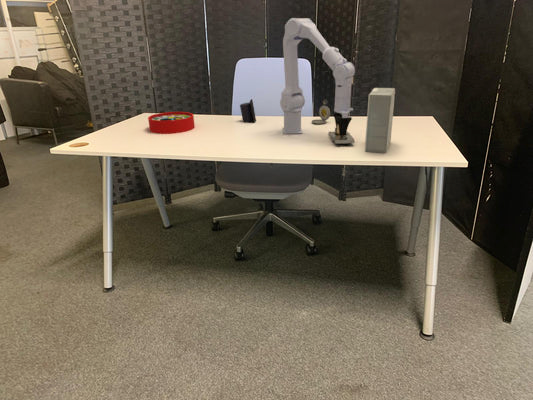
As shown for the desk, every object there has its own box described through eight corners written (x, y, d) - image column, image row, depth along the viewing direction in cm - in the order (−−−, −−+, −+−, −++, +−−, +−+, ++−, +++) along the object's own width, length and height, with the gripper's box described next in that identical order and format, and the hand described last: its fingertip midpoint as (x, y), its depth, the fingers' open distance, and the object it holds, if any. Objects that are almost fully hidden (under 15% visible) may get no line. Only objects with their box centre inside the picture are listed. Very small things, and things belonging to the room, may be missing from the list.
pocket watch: (310, 124, 179) (310, 102, 175) (314, 120, 187) (314, 99, 182) (327, 125, 177) (328, 102, 173) (331, 121, 184) (332, 99, 180)
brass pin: (335, 139, 155) (336, 124, 152) (343, 139, 155) (344, 123, 152) (336, 141, 152) (337, 125, 149) (345, 141, 152) (346, 125, 149)
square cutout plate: (328, 134, 161) (328, 127, 160) (345, 134, 161) (345, 126, 160) (335, 146, 145) (335, 138, 144) (354, 146, 145) (354, 138, 144)
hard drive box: (370, 140, 152) (374, 87, 144) (390, 142, 149) (396, 88, 141) (363, 151, 139) (368, 93, 131) (386, 153, 136) (392, 94, 128)
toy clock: (188, 110, 188) (197, 118, 171) (190, 122, 190) (198, 131, 173) (145, 114, 182) (150, 122, 164) (147, 126, 184) (152, 136, 167)
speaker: (260, 120, 189) (257, 98, 185) (254, 123, 184) (251, 101, 180) (246, 120, 192) (243, 99, 188) (240, 123, 188) (237, 101, 184)
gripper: (357, 100, 140) (354, 137, 145) (349, 93, 153) (347, 128, 159) (337, 100, 140) (335, 137, 145) (331, 94, 153) (330, 128, 159)
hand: (340, 132), depth 152 cm, fingers open, 7 cm apart
